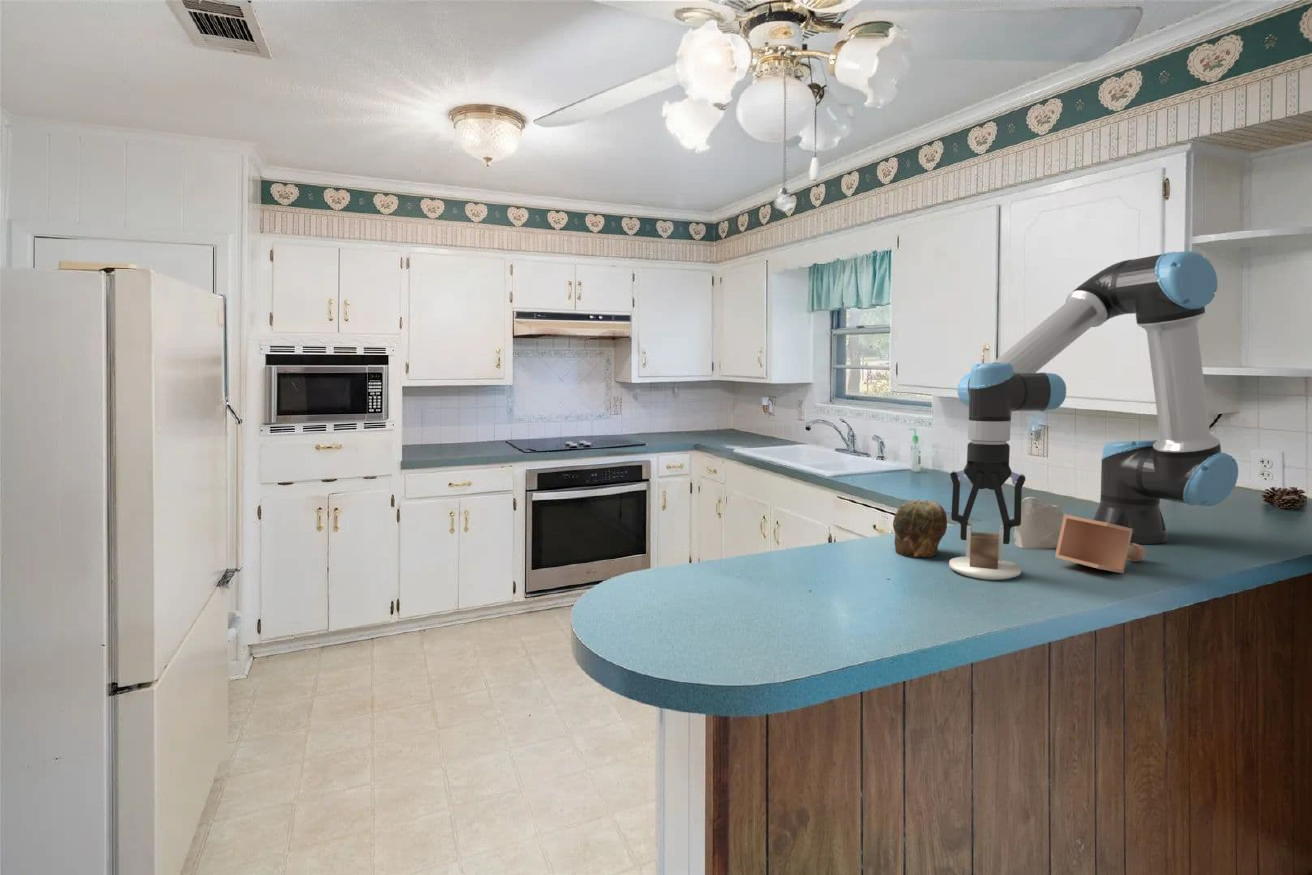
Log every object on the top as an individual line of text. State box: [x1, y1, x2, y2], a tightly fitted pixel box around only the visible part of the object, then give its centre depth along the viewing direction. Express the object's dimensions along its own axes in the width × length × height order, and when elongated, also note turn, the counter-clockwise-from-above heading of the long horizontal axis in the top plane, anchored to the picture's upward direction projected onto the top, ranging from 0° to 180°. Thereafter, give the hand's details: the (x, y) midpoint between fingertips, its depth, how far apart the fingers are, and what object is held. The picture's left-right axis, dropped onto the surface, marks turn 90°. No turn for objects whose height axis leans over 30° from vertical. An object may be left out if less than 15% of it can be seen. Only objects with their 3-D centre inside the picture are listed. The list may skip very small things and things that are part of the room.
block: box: [970, 531, 999, 569], centre depth 139 cm, size 5×5×6 cm
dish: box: [948, 555, 1022, 581], centre depth 139 cm, size 13×13×1 cm
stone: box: [1013, 496, 1064, 550], centre depth 158 cm, size 10×5×12 cm, turn 80°
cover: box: [1054, 513, 1146, 574], centre depth 142 cm, size 9×9×19 cm
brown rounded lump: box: [892, 499, 948, 558], centre depth 153 cm, size 11×11×12 cm
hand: (984, 557), depth 139 cm, fingers closed on block, 5 cm apart
